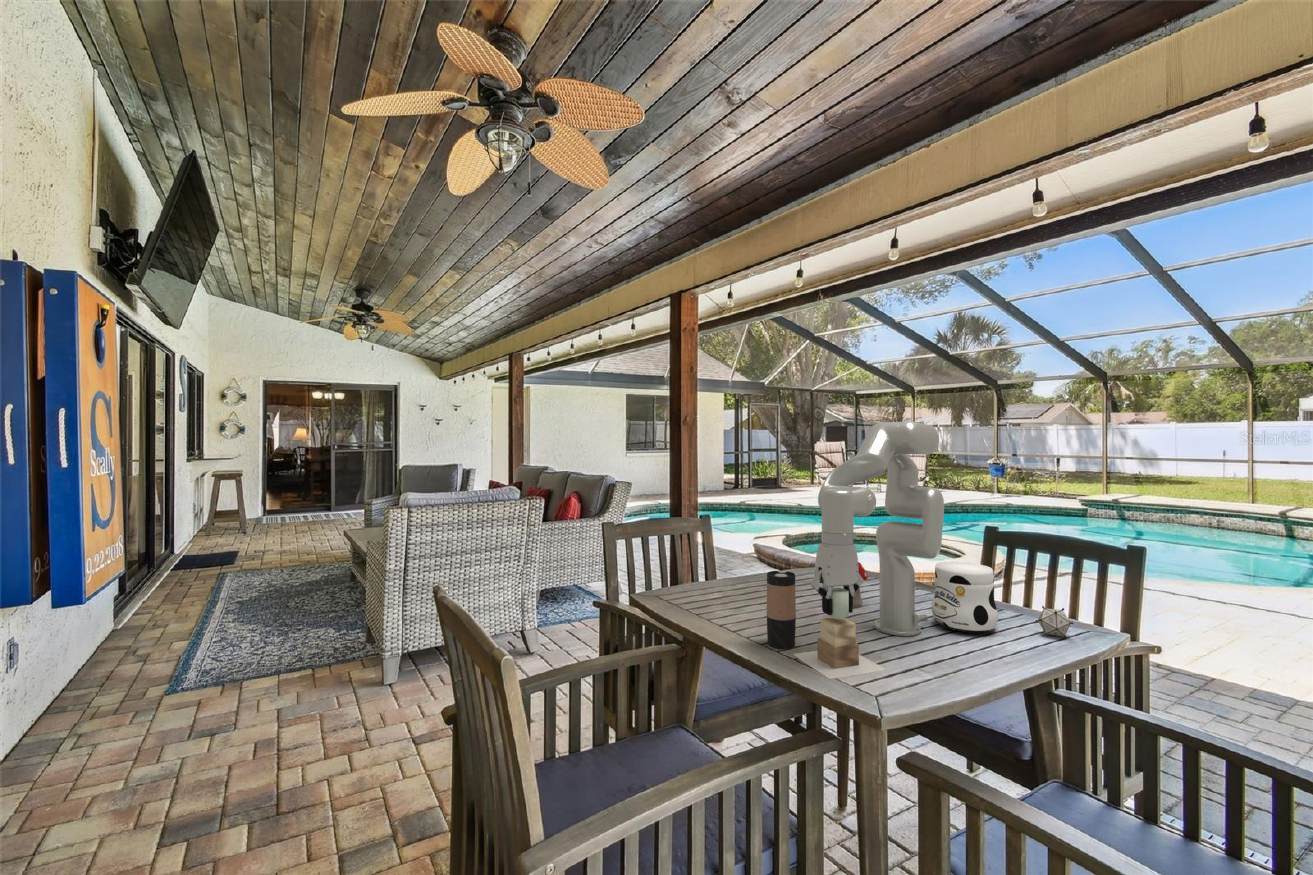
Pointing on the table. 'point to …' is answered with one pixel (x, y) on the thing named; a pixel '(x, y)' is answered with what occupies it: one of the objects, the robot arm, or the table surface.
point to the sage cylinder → (840, 603)
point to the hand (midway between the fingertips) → (837, 611)
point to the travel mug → (781, 610)
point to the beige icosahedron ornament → (1054, 622)
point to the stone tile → (832, 673)
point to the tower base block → (838, 654)
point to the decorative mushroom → (857, 598)
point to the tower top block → (837, 631)
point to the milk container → (964, 597)
